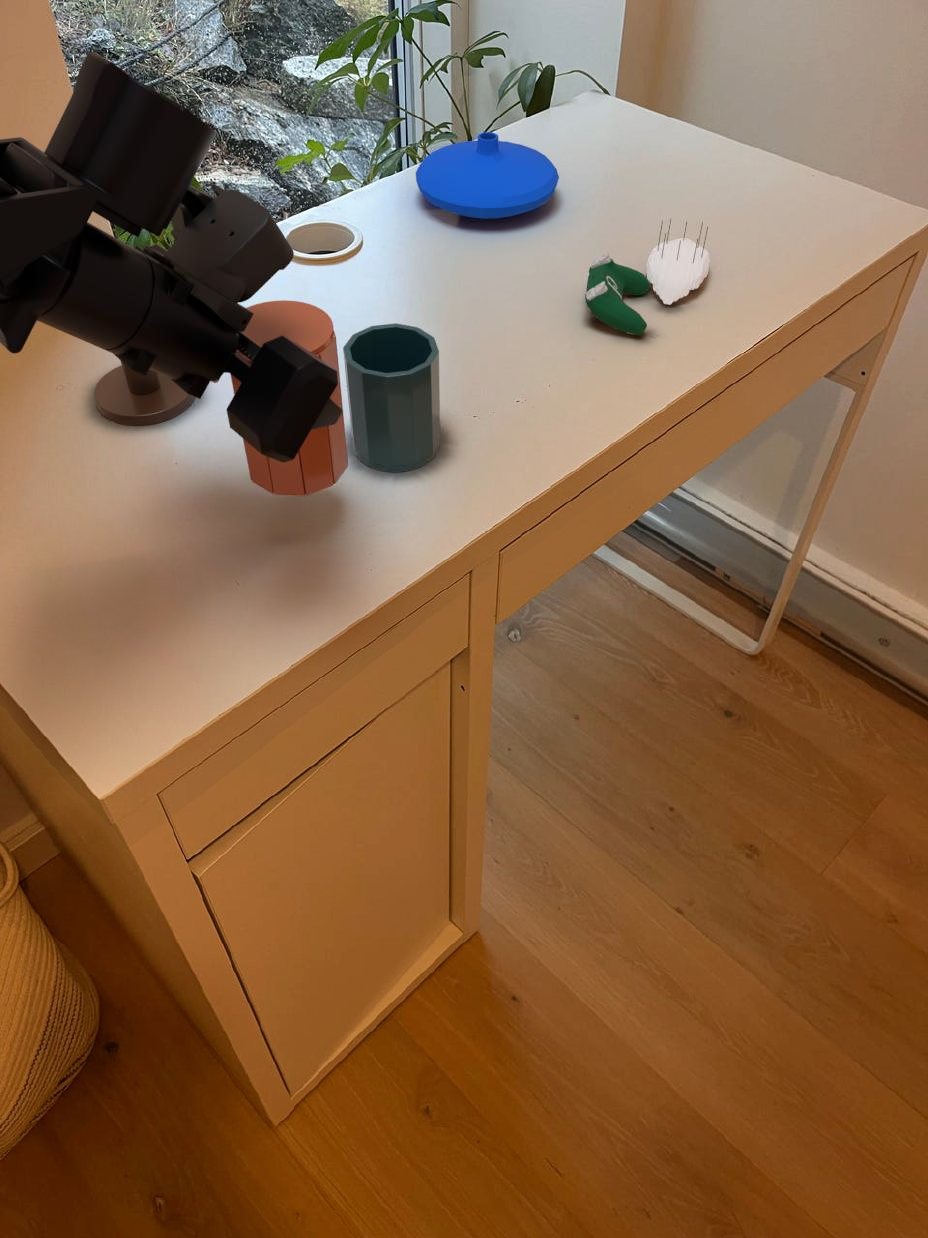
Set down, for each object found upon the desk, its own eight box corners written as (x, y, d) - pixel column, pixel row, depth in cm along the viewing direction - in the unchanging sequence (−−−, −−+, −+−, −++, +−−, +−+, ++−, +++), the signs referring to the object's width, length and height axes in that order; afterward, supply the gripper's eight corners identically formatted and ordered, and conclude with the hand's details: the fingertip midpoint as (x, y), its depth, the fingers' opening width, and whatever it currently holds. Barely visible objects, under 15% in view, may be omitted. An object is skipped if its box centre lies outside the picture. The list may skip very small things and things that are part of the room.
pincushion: (655, 244, 102) (664, 191, 98) (714, 253, 101) (725, 199, 97) (635, 302, 95) (643, 246, 91) (697, 312, 94) (709, 256, 89)
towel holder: (95, 431, 81) (73, 369, 76) (98, 374, 86) (79, 313, 82) (198, 419, 82) (183, 357, 77) (195, 363, 87) (181, 302, 83)
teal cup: (359, 477, 77) (350, 380, 70) (348, 424, 82) (338, 329, 75) (446, 466, 78) (445, 369, 71) (430, 414, 83) (428, 319, 76)
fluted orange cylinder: (229, 482, 69) (200, 346, 61) (279, 424, 73) (258, 290, 65) (318, 507, 67) (300, 370, 59) (363, 446, 72) (352, 311, 64)
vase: (582, 193, 110) (588, 128, 105) (509, 249, 102) (512, 181, 96) (466, 159, 116) (466, 96, 111) (387, 210, 107) (384, 144, 102)
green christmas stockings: (622, 304, 98) (584, 261, 95) (653, 281, 96) (614, 236, 93) (617, 354, 92) (576, 310, 89) (650, 331, 90) (608, 285, 87)
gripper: (289, 228, 47) (457, 346, 61) (105, 113, 57) (286, 236, 70) (180, 425, 50) (365, 497, 63) (20, 283, 59) (211, 372, 72)
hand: (305, 391), depth 67 cm, fingers closed on fluted orange cylinder, 7 cm apart
